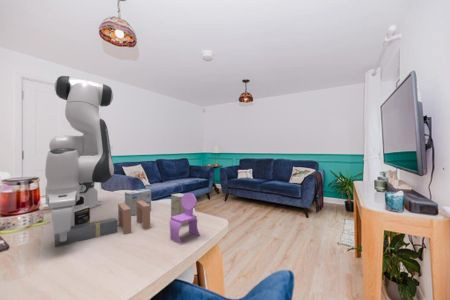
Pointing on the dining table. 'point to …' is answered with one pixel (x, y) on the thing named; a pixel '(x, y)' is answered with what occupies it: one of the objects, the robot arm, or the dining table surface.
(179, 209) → the skincare box
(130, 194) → the light bulb box
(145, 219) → the brick collars
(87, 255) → the dining table surface
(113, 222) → the steel block
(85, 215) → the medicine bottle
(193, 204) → the toy chair
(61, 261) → the dining table surface
